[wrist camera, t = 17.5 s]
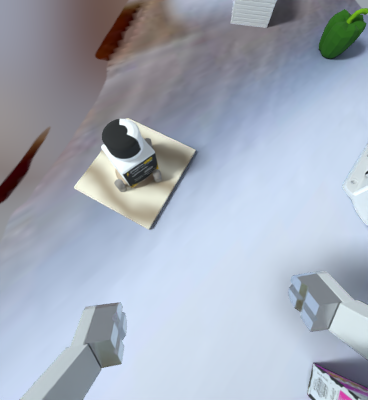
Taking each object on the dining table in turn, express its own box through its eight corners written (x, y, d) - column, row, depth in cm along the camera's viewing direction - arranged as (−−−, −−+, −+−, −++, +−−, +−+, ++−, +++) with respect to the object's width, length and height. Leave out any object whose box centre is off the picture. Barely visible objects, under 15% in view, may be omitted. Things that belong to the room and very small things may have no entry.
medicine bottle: (131, 189, 41) (112, 160, 30) (112, 164, 43) (87, 128, 31) (159, 169, 43) (151, 134, 31) (140, 146, 44) (125, 105, 33)
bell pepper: (309, 57, 55) (336, 13, 46) (316, 38, 58) (343, -7, 48) (340, 67, 54) (374, 24, 45) (346, 47, 57) (379, 3, 47)
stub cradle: (128, 120, 48) (123, 108, 44) (195, 152, 45) (196, 142, 42) (75, 189, 42) (65, 182, 38) (149, 229, 40) (145, 226, 36)
